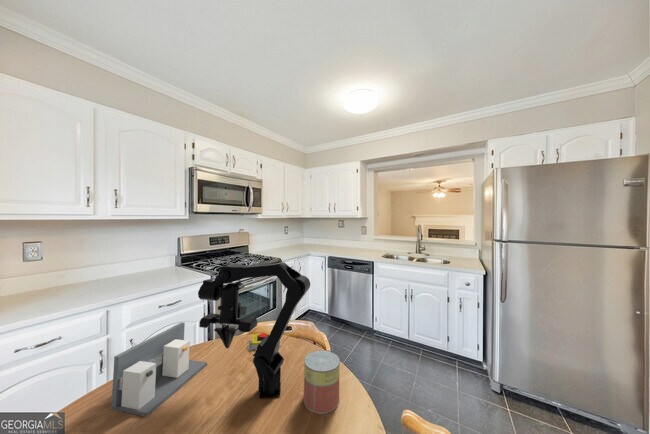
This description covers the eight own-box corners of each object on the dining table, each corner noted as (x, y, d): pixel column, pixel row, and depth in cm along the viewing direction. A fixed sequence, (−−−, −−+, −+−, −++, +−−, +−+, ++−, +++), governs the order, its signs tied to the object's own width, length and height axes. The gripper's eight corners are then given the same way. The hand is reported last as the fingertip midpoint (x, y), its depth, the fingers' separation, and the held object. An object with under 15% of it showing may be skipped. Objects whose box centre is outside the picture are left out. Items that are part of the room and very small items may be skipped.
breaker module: (190, 369, 83) (191, 341, 83) (179, 378, 78) (180, 348, 78) (174, 366, 84) (175, 339, 84) (162, 375, 79) (163, 346, 79)
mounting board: (207, 364, 88) (208, 325, 88) (147, 416, 63) (149, 361, 64) (179, 361, 90) (181, 322, 90) (111, 409, 66) (114, 356, 66)
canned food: (335, 385, 78) (335, 349, 78) (343, 411, 67) (344, 369, 67) (302, 388, 76) (302, 351, 76) (305, 416, 65) (305, 372, 65)
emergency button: (249, 331, 107) (281, 328, 111) (248, 341, 107) (281, 337, 111) (247, 341, 98) (282, 337, 102) (247, 351, 98) (282, 347, 102)
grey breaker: (156, 397, 69) (158, 363, 70) (140, 410, 65) (142, 373, 65) (138, 393, 71) (140, 360, 71) (121, 406, 66) (123, 370, 66)
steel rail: (183, 348, 89) (184, 340, 89) (121, 390, 66) (121, 379, 66) (181, 348, 89) (181, 340, 89) (118, 389, 66) (119, 379, 66)
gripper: (264, 296, 85) (263, 339, 84) (219, 293, 88) (218, 334, 87) (249, 306, 74) (248, 355, 73) (199, 302, 77) (197, 349, 77)
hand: (227, 347), depth 78 cm, fingers closed
